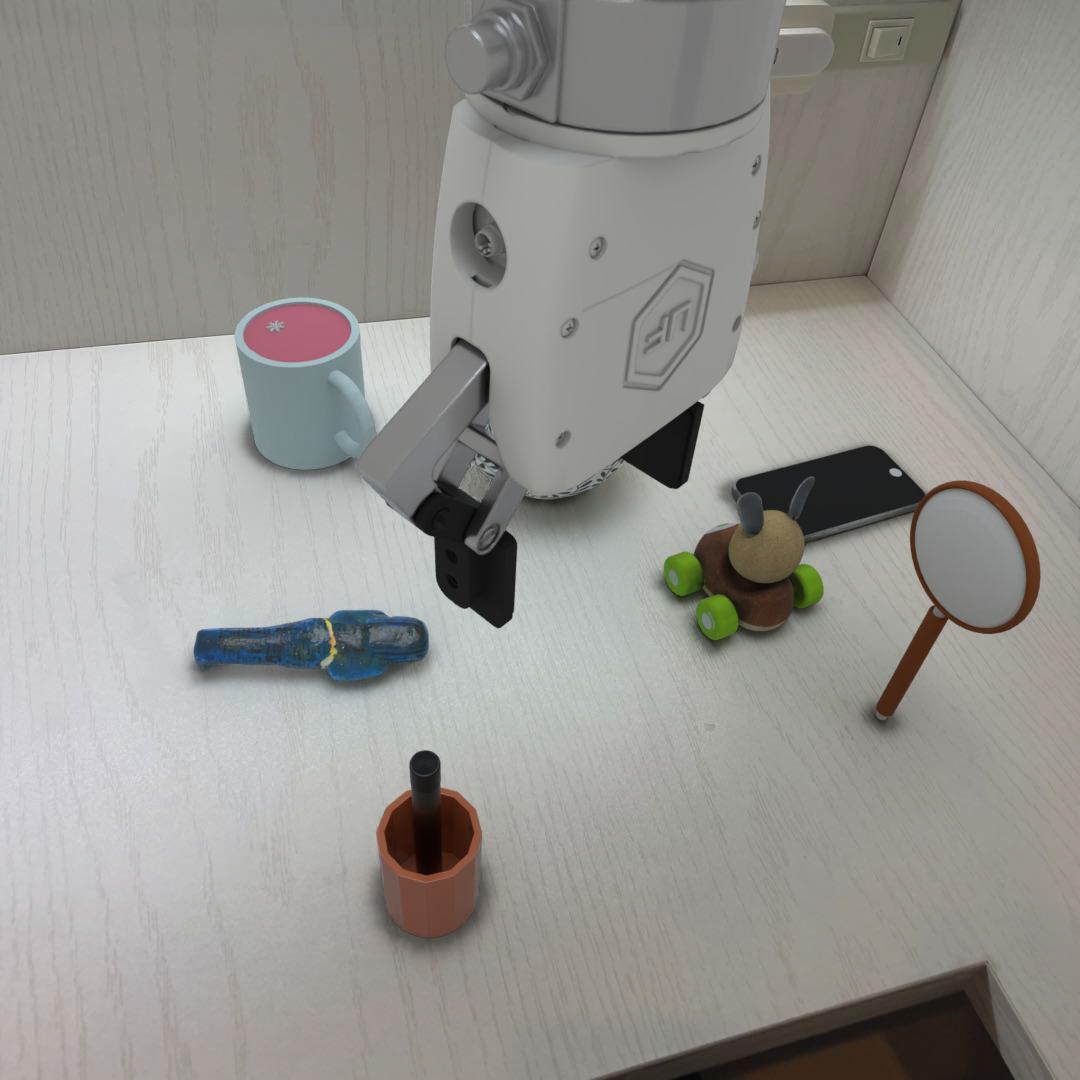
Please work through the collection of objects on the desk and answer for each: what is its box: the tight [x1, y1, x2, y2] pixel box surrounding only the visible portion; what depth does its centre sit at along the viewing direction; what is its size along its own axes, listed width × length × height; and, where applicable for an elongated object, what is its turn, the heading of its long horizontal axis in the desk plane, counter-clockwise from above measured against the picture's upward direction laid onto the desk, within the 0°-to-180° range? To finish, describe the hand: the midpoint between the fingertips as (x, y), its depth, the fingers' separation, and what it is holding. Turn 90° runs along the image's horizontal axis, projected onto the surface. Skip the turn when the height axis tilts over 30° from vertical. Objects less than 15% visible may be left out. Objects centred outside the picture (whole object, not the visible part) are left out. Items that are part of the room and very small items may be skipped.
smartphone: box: [731, 445, 927, 543], centre depth 79 cm, size 8×1×15 cm
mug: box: [234, 297, 377, 471], centre depth 76 cm, size 14×9×10 cm
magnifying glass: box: [875, 479, 1042, 721], centre depth 57 cm, size 9×2×20 cm, turn 23°
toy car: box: [663, 477, 825, 641], centre depth 67 cm, size 9×9×11 cm
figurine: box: [193, 609, 430, 682], centre depth 63 cm, size 5×4×15 cm
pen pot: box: [375, 786, 483, 938], centre depth 52 cm, size 5×5×7 cm
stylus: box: [408, 749, 443, 876], centre depth 49 cm, size 1×1×13 cm
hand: (568, 531), depth 36 cm, fingers open, 9 cm apart
